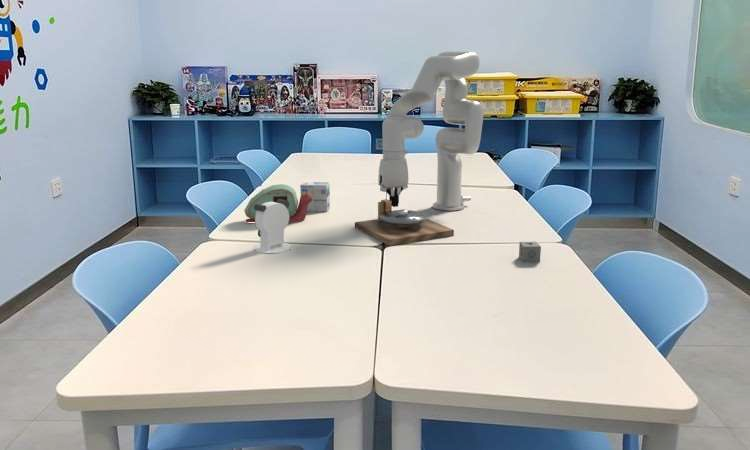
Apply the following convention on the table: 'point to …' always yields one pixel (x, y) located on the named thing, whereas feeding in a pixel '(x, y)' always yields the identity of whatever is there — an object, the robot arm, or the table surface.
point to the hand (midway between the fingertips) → (394, 205)
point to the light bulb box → (317, 195)
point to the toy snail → (285, 194)
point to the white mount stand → (272, 226)
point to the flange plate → (403, 219)
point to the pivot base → (402, 230)
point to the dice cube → (529, 251)
